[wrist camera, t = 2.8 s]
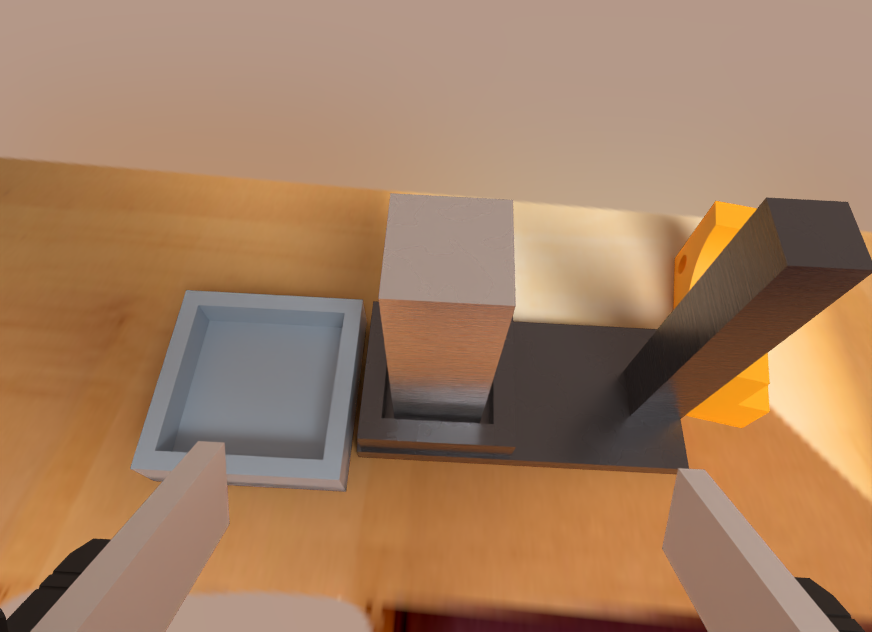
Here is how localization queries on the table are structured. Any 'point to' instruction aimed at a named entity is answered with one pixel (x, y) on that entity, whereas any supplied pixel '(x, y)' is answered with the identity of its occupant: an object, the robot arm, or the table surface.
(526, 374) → the dark grey post stand
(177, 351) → the parts tray
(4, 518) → the table surface
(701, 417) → the pipe clamp
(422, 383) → the light grey tall block
